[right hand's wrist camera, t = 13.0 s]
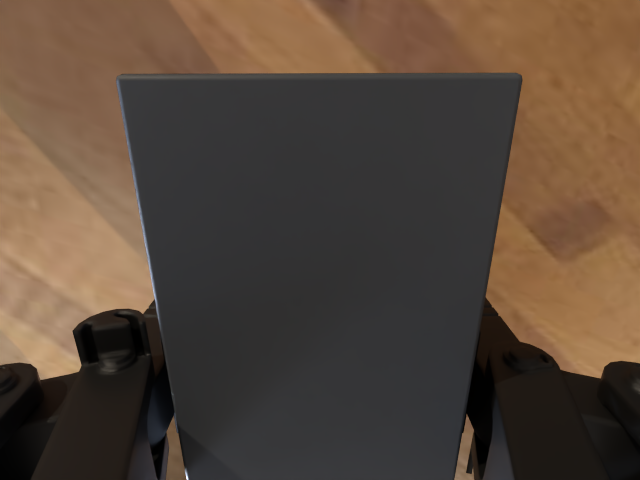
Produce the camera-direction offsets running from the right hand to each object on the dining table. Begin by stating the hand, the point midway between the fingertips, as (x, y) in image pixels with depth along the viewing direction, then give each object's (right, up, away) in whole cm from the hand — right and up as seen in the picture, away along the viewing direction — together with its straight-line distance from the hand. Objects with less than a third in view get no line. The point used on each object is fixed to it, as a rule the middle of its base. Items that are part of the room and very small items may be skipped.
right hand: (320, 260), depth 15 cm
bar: (0, -19, +8) cm, 20 cm away
